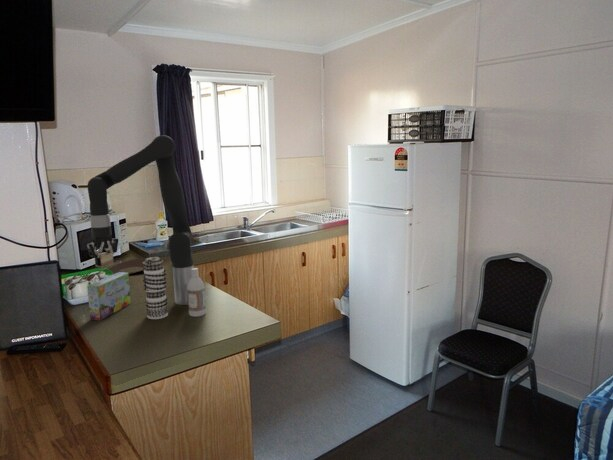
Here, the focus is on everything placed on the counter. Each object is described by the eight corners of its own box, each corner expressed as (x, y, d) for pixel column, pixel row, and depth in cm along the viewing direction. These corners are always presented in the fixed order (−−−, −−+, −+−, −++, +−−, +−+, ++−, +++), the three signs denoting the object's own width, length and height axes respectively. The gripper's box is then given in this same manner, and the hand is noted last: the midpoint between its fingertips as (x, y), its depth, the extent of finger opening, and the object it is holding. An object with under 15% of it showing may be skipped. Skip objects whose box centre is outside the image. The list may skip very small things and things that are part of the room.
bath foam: (185, 316, 183) (182, 270, 180) (194, 310, 190) (191, 266, 186) (200, 317, 181) (197, 271, 178) (208, 312, 188) (206, 267, 184)
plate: (101, 269, 259) (100, 263, 258) (147, 261, 277) (146, 255, 277) (117, 279, 238) (117, 273, 238) (166, 269, 257) (166, 263, 256)
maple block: (113, 264, 186) (112, 253, 186) (103, 267, 182) (102, 256, 181) (106, 263, 189) (105, 252, 188) (95, 266, 185) (94, 254, 184)
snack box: (101, 321, 180) (97, 286, 177) (89, 320, 181) (85, 285, 178) (131, 303, 200) (128, 271, 197) (120, 302, 201) (117, 271, 198)
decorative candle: (173, 315, 185) (168, 258, 180) (152, 321, 178) (147, 262, 174) (163, 309, 191) (158, 254, 186) (142, 315, 185) (137, 258, 180)
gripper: (90, 228, 174) (95, 269, 177) (121, 223, 187) (124, 261, 190) (79, 227, 178) (83, 267, 181) (110, 222, 190) (113, 259, 193)
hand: (104, 264), depth 185 cm, fingers closed on maple block, 5 cm apart
